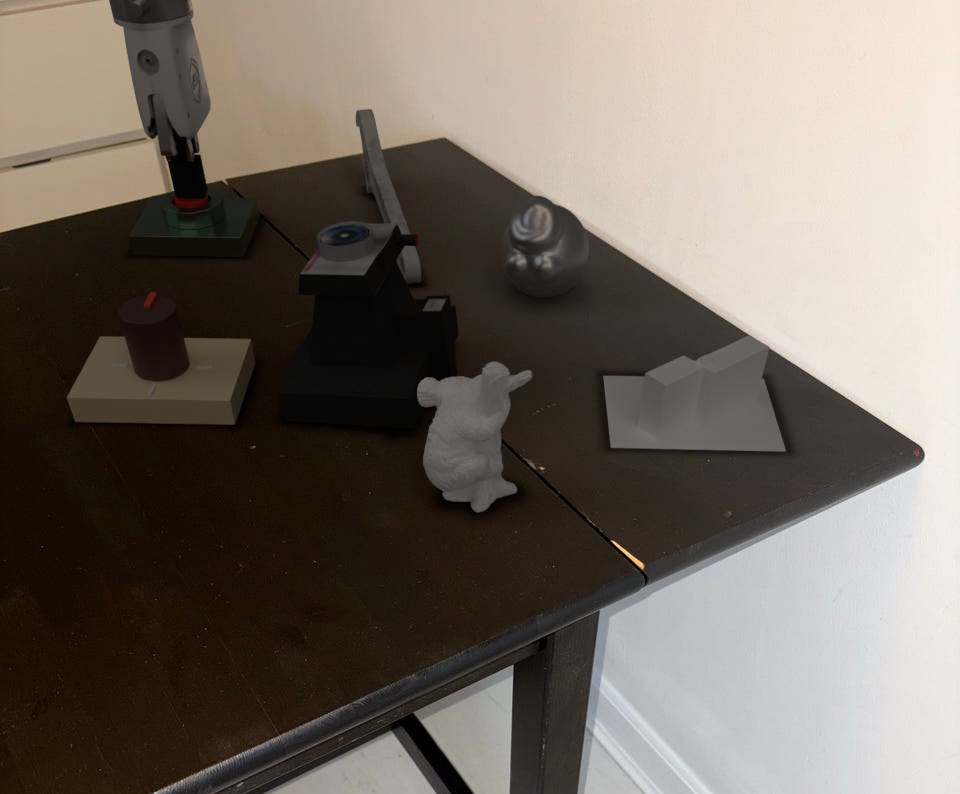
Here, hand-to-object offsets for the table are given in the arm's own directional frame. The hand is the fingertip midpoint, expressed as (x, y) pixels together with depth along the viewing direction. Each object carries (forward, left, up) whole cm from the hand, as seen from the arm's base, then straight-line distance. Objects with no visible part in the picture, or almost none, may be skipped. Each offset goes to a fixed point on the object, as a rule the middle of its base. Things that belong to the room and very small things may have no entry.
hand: (191, 195), depth 107 cm
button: (0, 0, -2) cm, 2 cm away
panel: (+4, -31, -5) cm, 32 cm away
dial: (+4, -31, -2) cm, 31 cm away
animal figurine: (+32, -45, -5) cm, 55 cm away
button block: (0, 0, -5) cm, 5 cm away
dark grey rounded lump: (+38, -12, -5) cm, 40 cm away
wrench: (+21, +3, -5) cm, 22 cm away
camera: (+24, -29, -5) cm, 38 cm away
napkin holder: (+51, -33, -5) cm, 61 cm away
